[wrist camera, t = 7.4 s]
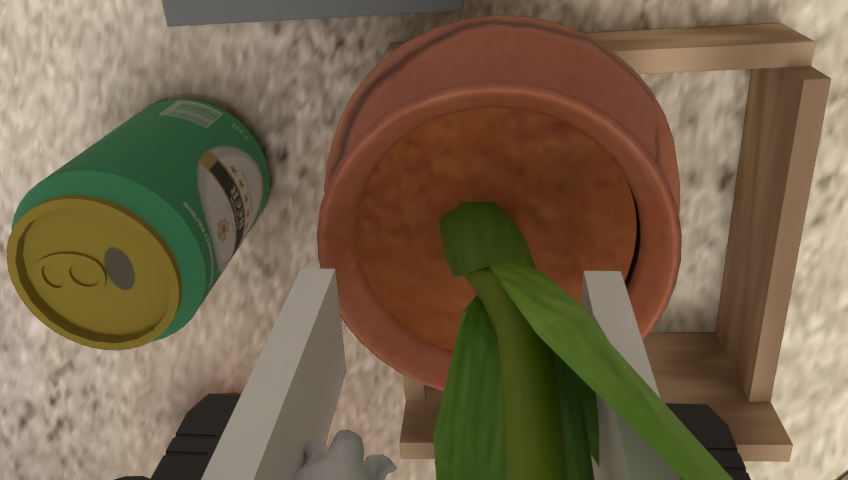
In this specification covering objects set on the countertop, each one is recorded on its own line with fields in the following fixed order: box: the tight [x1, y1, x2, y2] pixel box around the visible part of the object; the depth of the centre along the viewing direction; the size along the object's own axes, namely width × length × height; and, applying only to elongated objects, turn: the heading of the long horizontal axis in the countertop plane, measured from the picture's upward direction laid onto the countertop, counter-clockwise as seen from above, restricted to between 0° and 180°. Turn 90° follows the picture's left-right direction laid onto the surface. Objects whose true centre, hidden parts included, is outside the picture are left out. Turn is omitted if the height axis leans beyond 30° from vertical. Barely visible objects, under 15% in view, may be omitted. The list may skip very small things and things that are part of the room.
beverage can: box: [7, 99, 270, 350], centre depth 34 cm, size 8×8×12 cm
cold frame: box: [381, 23, 831, 462], centre depth 34 cm, size 18×18×9 cm
